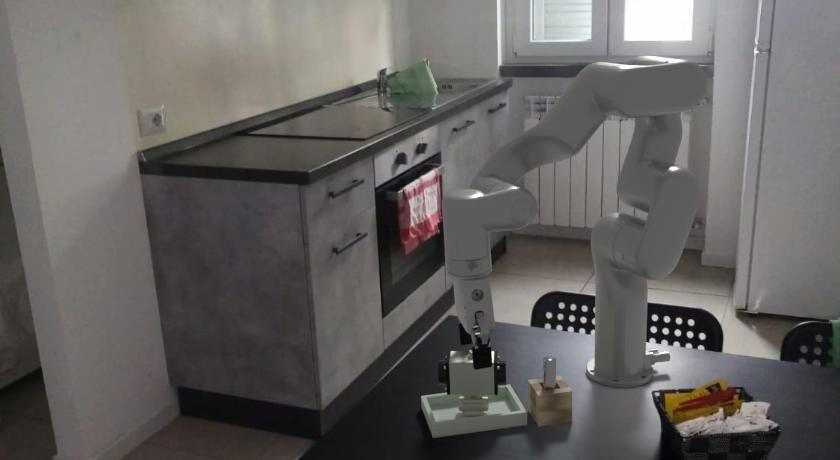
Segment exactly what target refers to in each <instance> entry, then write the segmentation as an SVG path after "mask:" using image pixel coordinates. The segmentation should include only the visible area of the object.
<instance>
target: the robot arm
mask: <svg viewBox="0 0 840 460" xmlns="http://www.w3.org/2000/svg"><path fill="white" fill-rule="evenodd" d="M707 77H708V76H707V74H706V72H705V71H704V69H703V67H701V66H700V65H699V64H698V63H696V62H695V61H692V60H688V59H680V58H672V57H665V56H664V57H663V56H659V55H658V56H654V55H640V56H639V55H638V56H636V57H633V58H631V59H629V60H628V61H626V63H625V64H622V63H621V64H620V63H615V62H614V63H613V62H605V61H604V62H603V61H598V62H597V61H596V62H592V63H589V64H587V65H586V66H585V67H583V68H582V69H581V70H580V71H579V73H577V75H576V76H575V77H574V79H572V81H571V82H570V84H569V85H568V86H567V87H566V88H565V90H564V91H562V93H561V94H560V96H559V97H558V98H557V99H556V101H555V102H554V103H553V104H552V106H551V107H550V108H549V109H548V110H547V112H546V113H545V114H544V115H543V116H542V118H540V120H538V122H537V123H536V124H535V125H533V126H532V127H530V128H528V129H526V130H525V131H524V132H522V133H520V134H518V135H517V136H515V137H514V138H512V139H511V140H509V141H508V142H506V143H505V144H503V145H502V146H501V147H499V148H498V149H497V150H496V151H494V153H493V154H492V155H491V156H490V157H488V159H487V161H486V162H485V163H484V164H483V166H482V167H481V168H480V169H479V170H478V171H477V173H476V174H475V176H474V177H473V179H472V181H471V182H470V183H469V186H468V188H461V189H455V190H452V191H449V192H447V193H446V194H445V195H444V196H443V197H442V199H441V212H442V213H441V215H442V225H443V235H444V236H443V237H444V246H445V247H444V248H445V249H444V250H445V260H446V262H445V263H446V273H447V275H448V276H449V277H451V278H452V280H453V292H454V293H453V295H454V296H453V297H454V305H455V306H454V307H455V311H456V315H457V318H458V332H459V343H460V345H461V346H465V345H472V346H471V351H472V357H473V367H474V369H475V370H477V369H483V368H489V367H492V352H491V351H492V343H491V338H490V331H491V332H494V331H495V330H496V322H495V313H494V302H493V296H492V294H493V293H492V288H491V282H490V278H489V275H490V274H491V273H492V272H493V269H492V267H493V265H492V253H491V251H492V250H491V236H490V235H491V234H490V233H492V232H493V233H494V232H495V233H496V232H509V231H516V230H517V231H518V230H521V229H524V228H526V227H527V226H529V225H530V224H531V223H532V222H533V221H534V220H535V218H536V216H537V213H538V210H539V205H538V201H537V199H536V196H535V195H534V194H533V193H532V192H531V191H530V190H529V189H527V188H526V187H524V186H522V185H519V184H518V182H519V181H520V180H521V179H523V178H524V177H525V176H526V175H527V174H529V173H531V172H532V171H534V170H536V169H538V168H541V167H542V166H546V165H550V164H555V163H558V162H562V161H565V160H568V159H572V158H573V157H576V156H577V155H578V154H579V153H580V152H581V150H583V148H584V146H585V145H586V144H587V143H588V141H589V140H590V139H591V138H592V137H593V136H594V134H595V133H596V132H597V131H598V129H599V128H600V127H601V126H602V124H603V123H604V122H605V121H606V120H607V119H608V117H609V116H613V117H614V116H615V117H619V118H626V119H634V127H633V129H634V130H633V133H632V136H631V140H630V143H629V146H628V148H627V152H626V155H625V157H624V160H623V163H622V166H621V170H620V173H619V174H618V175H619V176H618V178H617V179H618V180H617V181H616V182H617V183H616V188H615V189H616V190H615V191H616V196H617V198H618V199H619V200H620V201H621V203H623V204H624V205H626V206H628V207H631V208H633V209H635V210H637V211H641V212H643V213H646V214H647V217H646V220H645V219H643V218H639V217H637V216H635V215H631V214H629V213H624V212H610V213H607V214H605V215H603V216H600V218H599V219H598V220H597V221H596V223H595V224H594V225H593V227H592V230H591V235H590V250H591V256H592V260H593V266H594V277H595V279H594V281H595V283H594V284H595V297H594V299H595V300H594V302H595V303H594V357H593V358H591V359H589V360H588V362H587V363H586V366H585V367H586V368H585V372H586V374H587V376H588V378H590V380H592V381H594V382H596V383H598V384H600V385H604V386H607V387H611V388H635V387H640V386H642V385H645V384H647V383H649V382H650V381H651V380H652V379H653V377H654V374H655V373H654V367H653V366H654V365H655V364H656V363H666V362H670V361H671V355H670V352H669V351H660V352H659V350H658V348H657V347H654V348H648V349H647V329H648V328H647V326H648V325H647V324H648V322H647V321H648V299H649V298H648V297H649V296H648V295H649V293H648V291H649V289H648V288H649V287H648V280H649V281H658V280H659V281H660V280H662V279H665V278H666V277H668V276H669V275H671V273H672V272H673V271H674V269H675V268H676V266H677V265H678V263H679V261H680V260H681V257H682V254H683V251H684V250H685V249H684V248H685V245H686V242H687V240H688V238H689V235H690V231H691V229H692V225H693V223H694V220H695V217H696V215H697V212H698V209H699V205H700V200H701V188H700V183H699V180H698V178H697V177H696V175H695V173H694V172H692V171H691V170H689V169H688V168H686V167H684V166H681V165H678V164H676V159H677V156H678V153H679V149H680V146H681V142H682V139H683V123H682V118H681V114H680V113H683V112H687V111H689V110H692V109H693V108H695V107H697V106H698V104H700V103H701V101H702V100H703V99H704V98H705V95H706V93H707V90H708V78H707Z"/></svg>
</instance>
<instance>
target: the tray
mask: <svg viewBox="0 0 840 460" xmlns="http://www.w3.org/2000/svg"><path fill="white" fill-rule="evenodd" d="M498 387H500V390H498V395H484V396H483V397H488V399H489V410H488V411H483V412H484V416H477V417H468V416H464V415H462V412H464V411H459V409H458V399H459V397H464V396H463V395H447V392H441V393H434V394H426V395H425V394H424V395H421V396H420V399H421V400H420V401H421V402H420V403H421V404H420V405H421V411H422V413H423V416H424V418H425V420H426V424H427V426H428V429H429V431H430V434H431V436H432V439H436V438H443V437H451V436H452V437H453V436H458V435H466V434H473V433H479V432H480V433H481V432H488V431H494V430H500V429H501V430H502V429H509V428H514V427H523V426H528V412H527V411H528V410H526V408H525V407H524V405H523V403H522V402H521V400H520V398H519V397H518V395H517V394H516V392H515V390H514V389H513V387H512V386H511V384H510V383H509V384H507V383H506V386H498Z"/></svg>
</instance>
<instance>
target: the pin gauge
mask: <svg viewBox="0 0 840 460" xmlns="http://www.w3.org/2000/svg"><path fill="white" fill-rule="evenodd" d="M542 372H543V373H542V375H543V377H542V378H543V390H544V391H545V390H552V389H556V376H557V359H556V358H555V357H554V356H545V357H543V359H542Z"/></svg>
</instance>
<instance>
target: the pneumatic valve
mask: <svg viewBox="0 0 840 460" xmlns="http://www.w3.org/2000/svg"><path fill="white" fill-rule="evenodd" d="M491 352H492V367H489V368H483V369H477V370H475V369H474V367H473V357H472V349H467V350H448V351H447V353H446V356H445V359H443V360H442V359H441V360H440V359H439V360H438V365H437V381H438V383H437V384H438V386H444V390H446V393H447V395H463V396H464V397H459V399H458V409H459V411H464V412H462V415H464V416H468V417H477V416H484V412H483V411H488V410H489V399H488V397H483V396H484V395H498V390H500V387H498V386H506V385H507V360H505V359H501V356H499V353H498V352H499V351H498V350H491Z"/></svg>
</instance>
